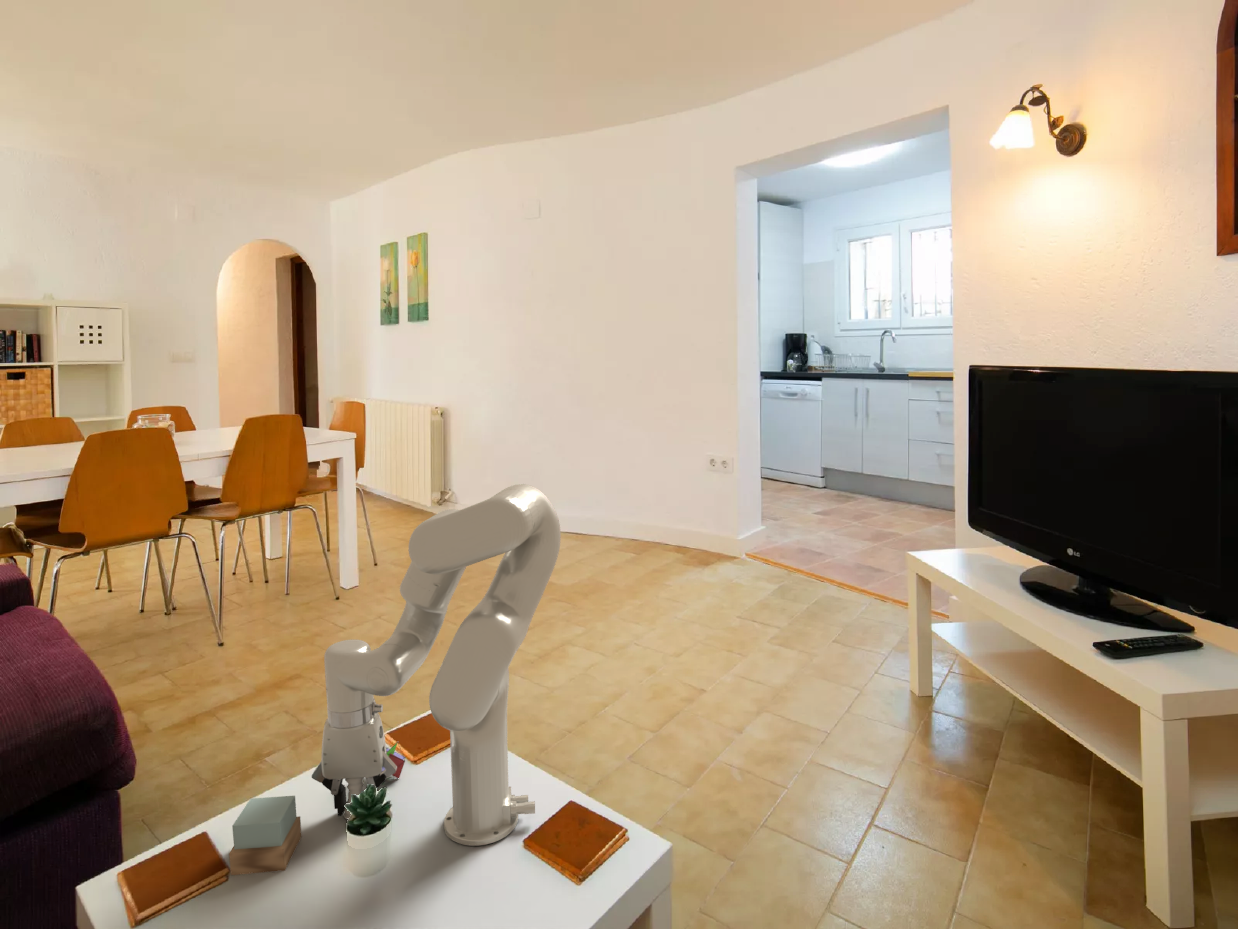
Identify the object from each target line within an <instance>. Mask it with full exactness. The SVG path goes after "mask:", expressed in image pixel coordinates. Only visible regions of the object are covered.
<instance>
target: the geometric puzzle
mask: <svg viewBox="0 0 1238 929" xmlns="http://www.w3.org/2000/svg"><path fill="white" fill-rule="evenodd" d="M397 746H399V750H400V751H402V748H401V746H400V744H399V741H396V742H395V743H393V744H392V745H391V744H390V746H388V747H387V746H386V754H387V755H388V757H389V758H390V759H391V760H392V761H393V762H394V763H395V765H396V766H397V769H396V772H395V773H394V774H393V775H392V776H393V777H392V776H390V777H389V778H391V779H393V778H395V780H399V779H400V777H401V774H402V771H403V768H404V765H405V763H406V757H405V755H404V753H402V755H401V754H400V753H398V752H396V748H397ZM390 747H391V748H390ZM384 770H385V768H384V767H383V766H382V771H384ZM382 771H381V772H382ZM398 778H399V779H398ZM387 781H389V780H387V779H386V782H387Z"/></svg>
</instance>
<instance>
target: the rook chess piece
mask: <svg viewBox="0 0 1238 929" xmlns="http://www.w3.org/2000/svg"><path fill="white" fill-rule="evenodd" d="M364 779H365V777H362V778H348V779H344V780H345V781H346V783H347V785H346V789H347V791H348V795H347V799H346V803H350V802H351V794H356V795H359V794H360V793H361V791H364V786H365V782H364V781H363V780H364ZM350 815H351V814H350V812H349V811H347V809H346V808H345V807H344V813H343V817H344V819H346V820H347V818H349V817H350Z"/></svg>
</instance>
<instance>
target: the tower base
mask: <svg viewBox="0 0 1238 929" xmlns="http://www.w3.org/2000/svg"><path fill="white" fill-rule="evenodd" d="M296 817H297V818H296V820H295V822H294V823H293V825H292V827H291V829H290V831H289V833H288V834H287V836H286V838H285V840H284V842H283V844H282V846H274V847H261V848H247V849H234V845H233V847H232V848H231V850H230V851H229V853H228V855H229V867H230V876H236V875H237V876H238V875H239V876H240V875H248V874H249V875H250V874H261V873H271V872H272V873H273V872H274V873H275V872H281V871H283V872H284V871H286V870H287V868H288V865H289V864H290V862H291V859H292V857H293V856H294V853H295V851H296V850H297V847H298V845H299V843H300V841H301V839H302V837H303V835H302V825H301V816H300V815H299V816H296Z"/></svg>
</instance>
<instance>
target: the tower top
mask: <svg viewBox="0 0 1238 929" xmlns="http://www.w3.org/2000/svg"><path fill="white" fill-rule="evenodd" d="M297 817H298V816H297V804H296V795H284V796H283V795H282V796H270V797H269V796H268V797H255V798H253V797H251V798H250V799H249V800H248V802H247V803H246V805H245V806H244V807H243V809H242V811H241V812H240V814H239V815H238V816H237V819H236V820H235V821H234V822H233V824H232V838H233V846H234V849H247V848H261V847H274V846H282V844H283V842H284V840H285V838H286V836H287V834H288V833H289V831H290V829H291V827H292V825H293V823H294V822H295V820H296V818H297Z"/></svg>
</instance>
